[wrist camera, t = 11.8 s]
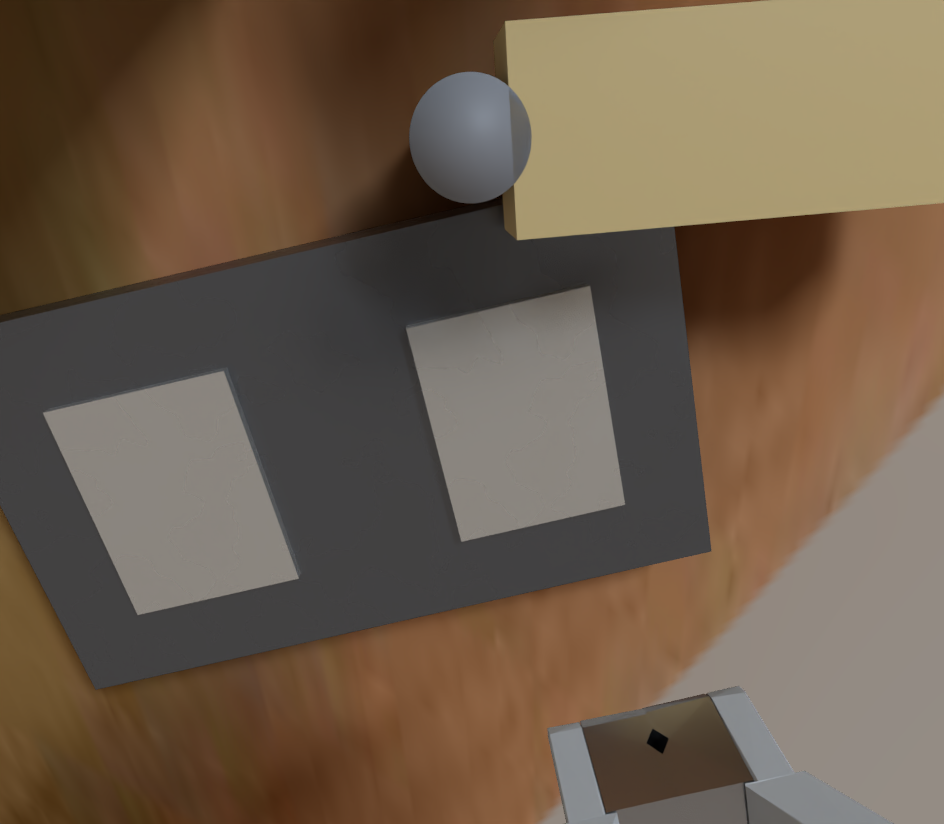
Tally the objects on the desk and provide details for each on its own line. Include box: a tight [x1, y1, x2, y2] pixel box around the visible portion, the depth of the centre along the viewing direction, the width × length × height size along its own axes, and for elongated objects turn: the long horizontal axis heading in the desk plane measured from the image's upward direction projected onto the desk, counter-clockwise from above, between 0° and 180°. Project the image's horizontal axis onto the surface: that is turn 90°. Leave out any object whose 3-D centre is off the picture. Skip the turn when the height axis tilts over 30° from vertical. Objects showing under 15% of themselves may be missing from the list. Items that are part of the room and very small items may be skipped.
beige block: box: [409, 0, 944, 240], centre depth 19 cm, size 18×5×3 cm, turn 95°
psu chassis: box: [0, 198, 711, 690], centre depth 25 cm, size 17×24×4 cm
